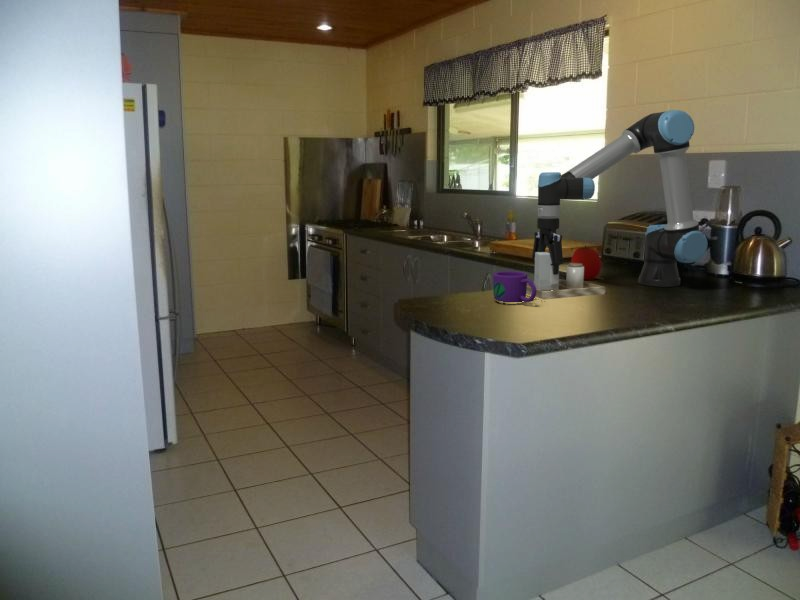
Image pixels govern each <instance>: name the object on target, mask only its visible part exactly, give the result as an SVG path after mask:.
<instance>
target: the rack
mask: <svg viewBox="0 0 800 600" xmlns="http://www.w3.org/2000/svg"><path fill="white" fill-rule="evenodd" d="M536 290H537V292H536V296H535V298H536V299H539V300H542V301H545V300H555V299H564V298H574V297H575V298H576V297H577V298H578V297H579V298H580V297H588V296H589V297H590V296H600V295H605V294H606V286H602V285H599V284H596V283H591V282H588V281H584V282H583V288H578V289H573V288H569V287H566V279H563V280H562V279H561V280H559V289H558V290H553V291H551V290H538V289H537V288H536ZM526 295H527V296H531V295H532V288H531V286H530V285H529V284H528V283H527V291H526Z"/></svg>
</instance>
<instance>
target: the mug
mask: <svg viewBox="0 0 800 600" xmlns="http://www.w3.org/2000/svg"><path fill="white" fill-rule="evenodd" d="M492 277H493V279H492V291H493V299H494V300H495V299H496V300H498V301H503V302H522V301H524V302H525V303H530V302H533V301H534V300H535V299H536V297H535V296H536V292H537V290H536V287H535V285H534V281H532V280H531V279H530V278H528V274H527V272H523V271H516V270H515V271H514V270H504V271H502V270H501V271H496V272H494V273H493V275H492ZM527 283H528V284H529V285H530V286H531V288H532V295H530V296H529V297H530V298H529V297H526V296H527V294H526V291H527ZM534 298H535V299H534Z"/></svg>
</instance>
